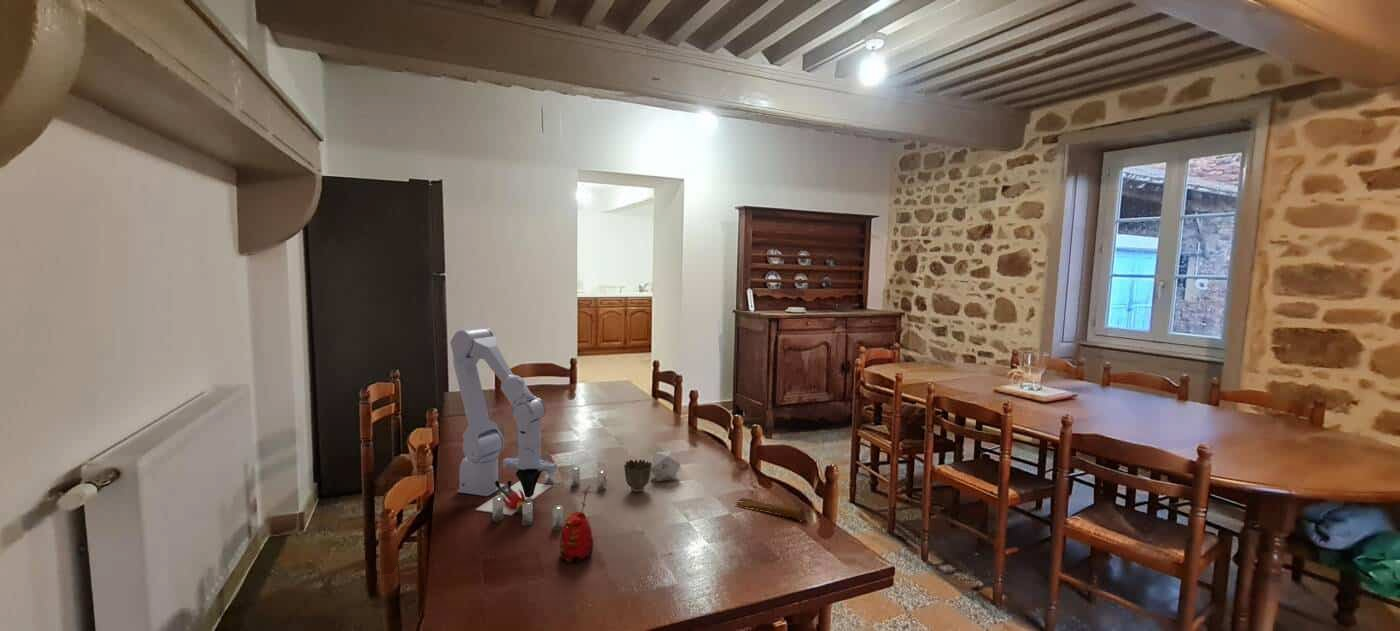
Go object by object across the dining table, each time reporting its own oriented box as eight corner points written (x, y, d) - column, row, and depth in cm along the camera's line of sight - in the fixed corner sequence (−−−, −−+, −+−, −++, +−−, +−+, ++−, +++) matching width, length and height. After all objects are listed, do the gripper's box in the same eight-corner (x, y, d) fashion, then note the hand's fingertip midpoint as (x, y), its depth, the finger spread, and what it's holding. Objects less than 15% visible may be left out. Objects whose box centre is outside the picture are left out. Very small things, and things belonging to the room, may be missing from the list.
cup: (646, 498, 154) (646, 469, 153) (620, 495, 156) (620, 466, 155) (654, 488, 161) (654, 460, 161) (628, 485, 163) (629, 457, 162)
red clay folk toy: (557, 550, 125) (557, 483, 124) (589, 545, 128) (590, 479, 126) (562, 567, 118) (562, 496, 117) (596, 561, 121) (597, 492, 119)
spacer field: (490, 520, 138) (490, 500, 138) (547, 480, 165) (548, 463, 164) (559, 530, 134) (560, 510, 133) (607, 488, 160) (607, 470, 160)
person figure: (511, 473, 157) (530, 496, 141) (515, 486, 158) (534, 510, 142) (492, 482, 154) (509, 506, 139) (497, 495, 155) (515, 520, 140)
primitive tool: (732, 506, 151) (732, 494, 151) (741, 500, 156) (741, 487, 156) (801, 525, 142) (802, 511, 141) (809, 517, 146) (809, 504, 146)
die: (643, 480, 169) (649, 461, 163) (655, 458, 176) (661, 439, 170) (668, 492, 168) (675, 473, 162) (679, 470, 175) (686, 451, 169)
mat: (475, 510, 144) (475, 509, 144) (519, 482, 163) (519, 481, 163) (511, 515, 141) (511, 514, 141) (551, 486, 160) (551, 485, 160)
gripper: (495, 447, 148) (495, 498, 149) (546, 453, 144) (546, 505, 145) (511, 439, 155) (511, 488, 156) (560, 444, 151) (559, 494, 152)
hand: (529, 495), depth 151 cm, fingers closed
